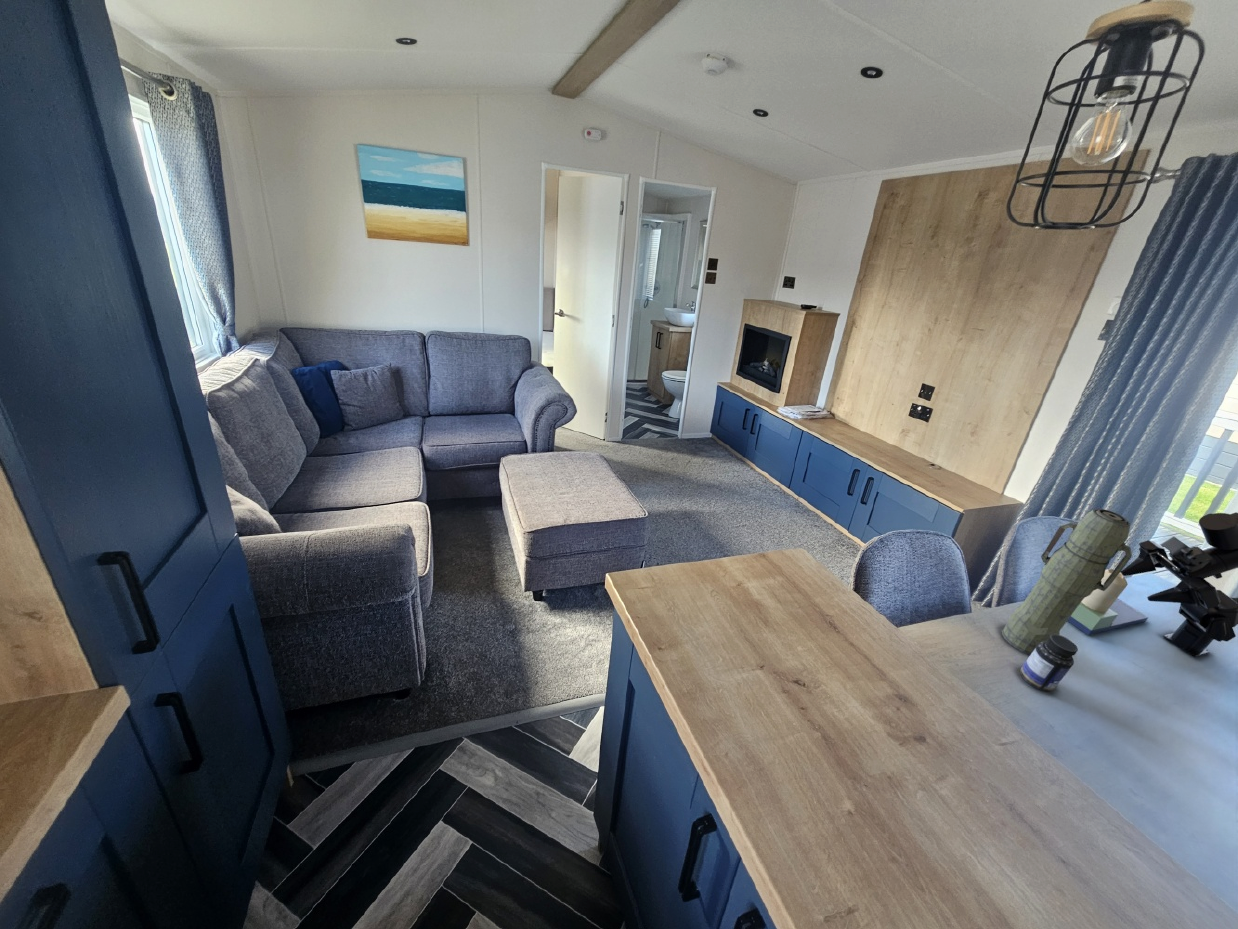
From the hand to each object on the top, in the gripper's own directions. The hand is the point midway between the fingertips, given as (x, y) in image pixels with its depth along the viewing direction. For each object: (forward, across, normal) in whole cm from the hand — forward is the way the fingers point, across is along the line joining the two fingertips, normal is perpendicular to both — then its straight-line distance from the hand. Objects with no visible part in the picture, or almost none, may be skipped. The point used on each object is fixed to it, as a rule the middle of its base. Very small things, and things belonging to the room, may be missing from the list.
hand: (1133, 586), depth 122 cm
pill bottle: (+30, +26, -12) cm, 41 cm away
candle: (+9, 0, +2) cm, 9 cm away
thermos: (+28, +14, -9) cm, 32 cm away
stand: (+8, -4, +11) cm, 14 cm away
